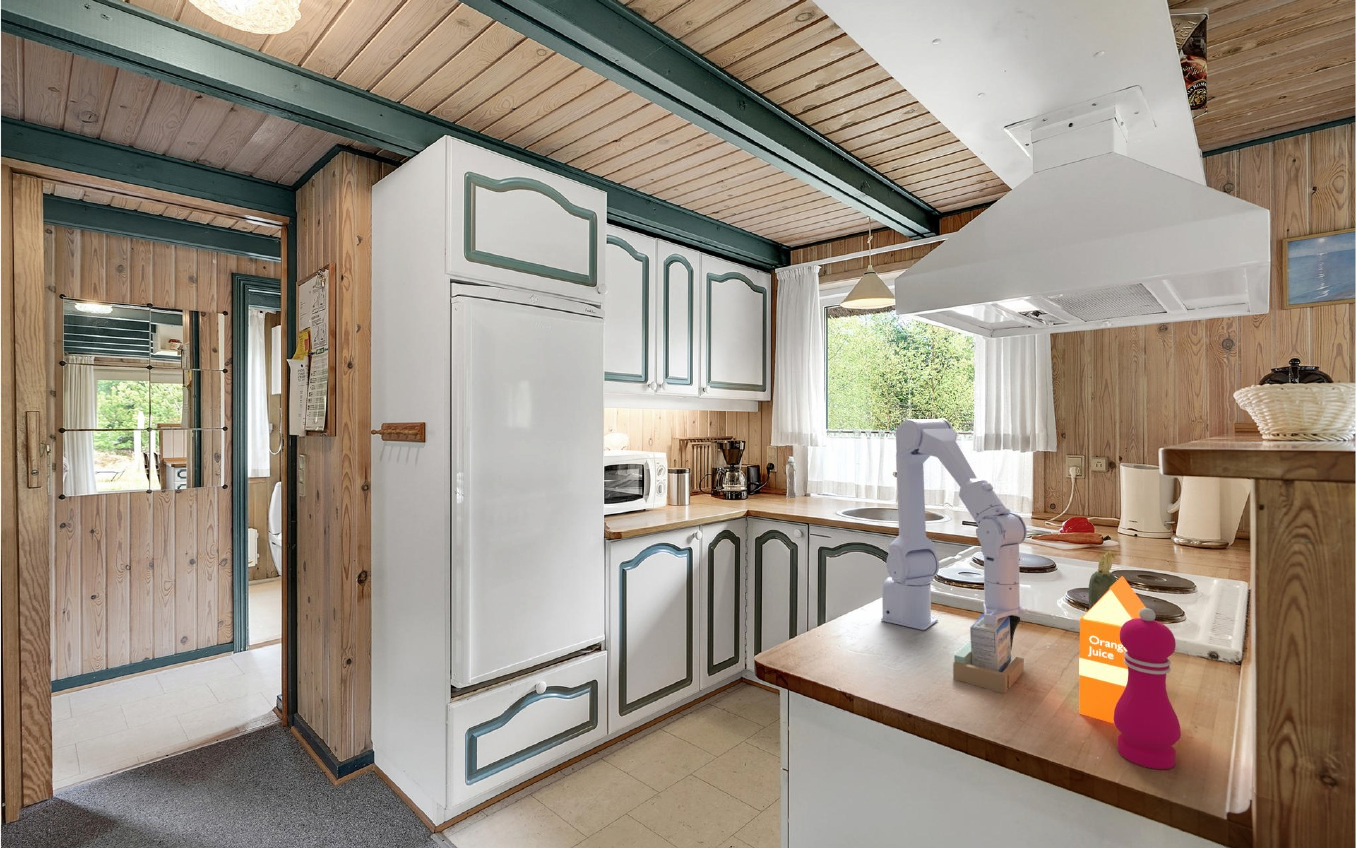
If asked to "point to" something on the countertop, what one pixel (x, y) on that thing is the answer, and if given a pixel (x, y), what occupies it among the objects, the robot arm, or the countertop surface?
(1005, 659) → the medicine box
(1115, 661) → the orange juice
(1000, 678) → the board
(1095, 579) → the vegetable
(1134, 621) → the pepper mill
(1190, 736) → the countertop surface
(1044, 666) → the countertop surface
